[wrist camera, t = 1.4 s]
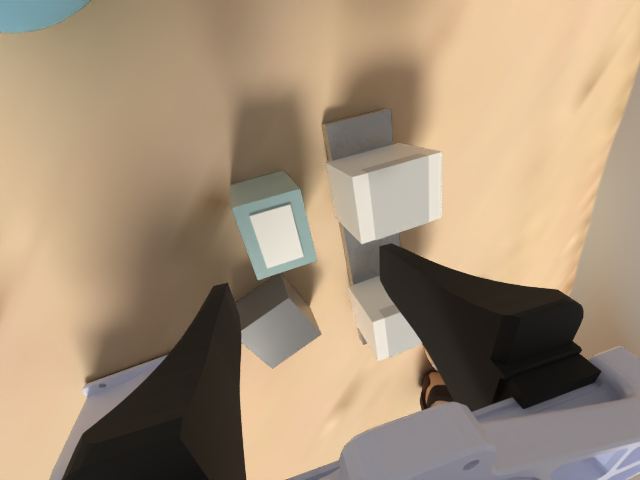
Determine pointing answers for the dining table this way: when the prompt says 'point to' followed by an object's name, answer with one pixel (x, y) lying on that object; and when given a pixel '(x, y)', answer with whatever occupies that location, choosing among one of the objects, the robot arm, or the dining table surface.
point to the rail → (349, 141)
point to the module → (272, 223)
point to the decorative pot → (35, 13)
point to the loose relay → (276, 321)
